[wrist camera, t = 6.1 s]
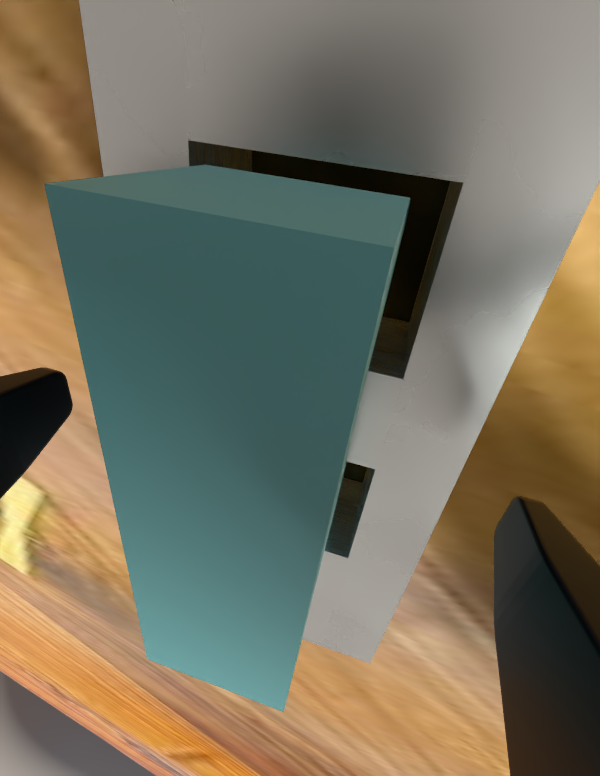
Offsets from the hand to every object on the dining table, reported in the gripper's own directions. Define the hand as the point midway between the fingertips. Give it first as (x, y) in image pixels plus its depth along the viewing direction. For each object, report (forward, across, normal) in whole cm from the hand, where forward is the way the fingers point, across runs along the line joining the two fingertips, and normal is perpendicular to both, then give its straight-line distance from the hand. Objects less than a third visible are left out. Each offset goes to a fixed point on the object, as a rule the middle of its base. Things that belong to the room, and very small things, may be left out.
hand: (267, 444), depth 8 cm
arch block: (+4, 0, 0) cm, 5 cm away
